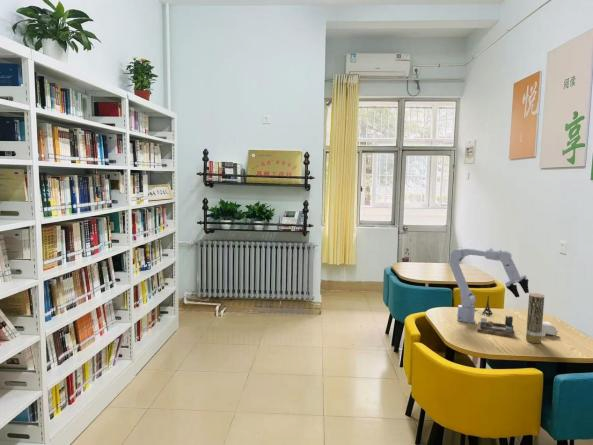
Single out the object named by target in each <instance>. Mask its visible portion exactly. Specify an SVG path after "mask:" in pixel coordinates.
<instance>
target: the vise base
mask: <svg viewBox="0 0 593 445" xmlns="http://www.w3.org/2000/svg"><path fill="white" fill-rule="evenodd" d="M487 320H488V319H487V317H481V318H480V321H478V322H477V327H476V330H477V331H476V332H478V333H484V334H490V335H495V336H501V337H502V336H503V337H507V338H508V337H509V338H512V339H513V338H514V337H515V331H514V325H513V324H512V330H506V329H505V323H498V322H494V321H492V320H488V321H487Z"/></svg>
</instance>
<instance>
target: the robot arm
mask: <svg viewBox="0 0 593 445" xmlns="http://www.w3.org/2000/svg"><path fill="white" fill-rule="evenodd" d="M449 256H450V257H449V258H450V259H449V267H450V269H451V272H452V274H453V277H454V279H455V281H456V285H457V287H458V289H459V293H460V295H459V296H460V302H461V304H458V306H457V314H456V317H457V318H456V321H457V322H464V323H470V324H475V321H476V318H475V314H476V311H475V310H476V305H475V304H476V302H477V298H476V295H475V294H473V291H472V290H471V289H470V288H469V285H468V282H467V279H466V278H465V276H464V273H463V271H462V268H461V266H460V263H461V262H462V260H464V258H465V257H467V256H476V257H477V256H478V257H484V258H485V259H486V260H491V261H499V262H501V264H502V266H503V268H504V271H505V273H506V275H507V278H508V280H509V281H507V282H505V283H504V284H505V286H506V289H507V290H509V291H510V292H511V293H512V294H513V296H514V297H515V298H519V297H520V294H519V290H518V285H517V284H516V283H518V284H519V286H520V287H521V288H522V291H523V292H524V294H529V293H530V291H529V279H528V278H527V275H522V276H521V275H520V273H519V270H518V269H517V267H516V264H515V263H514V261H513V259H512V256H513V255H512V253H511V252H509V251H507V250H501V249H499V250H498V249H493V248H489V249H486V250H481V249H476V248H470V247H459V248H455V249H453V250H452V251H451V253H450V255H449Z"/></svg>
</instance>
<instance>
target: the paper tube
mask: <svg viewBox="0 0 593 445" xmlns="http://www.w3.org/2000/svg"><path fill="white" fill-rule="evenodd" d="M544 306H545V295H544V294H541V293H536V292H529V293H528V306H527V318H526V335H525V339H526V341H527V342H528V343H533V344H540V343H541V342H542V336H541V335H542V322H543V320H544V317H543V316H544V308H545V307H544Z"/></svg>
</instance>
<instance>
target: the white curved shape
mask: <svg viewBox="0 0 593 445" xmlns="http://www.w3.org/2000/svg"><path fill="white" fill-rule="evenodd" d="M558 332H559V331H558V330H557V328H556V327H555V326H554V325H553V324H552V323H551V322H548V321H543V322H542V335H541V338H543V337H546V335H554V336H555V337H556V336H557V335H558Z"/></svg>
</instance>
